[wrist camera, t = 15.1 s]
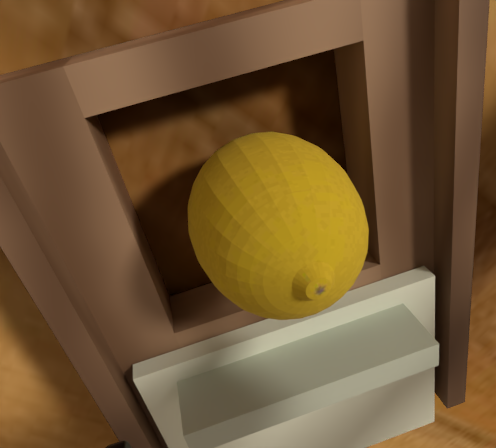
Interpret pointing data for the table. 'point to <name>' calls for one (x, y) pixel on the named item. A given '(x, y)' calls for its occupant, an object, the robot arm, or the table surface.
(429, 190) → the sliding lid box
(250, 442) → the cover
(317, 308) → the lemon
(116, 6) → the table surface
